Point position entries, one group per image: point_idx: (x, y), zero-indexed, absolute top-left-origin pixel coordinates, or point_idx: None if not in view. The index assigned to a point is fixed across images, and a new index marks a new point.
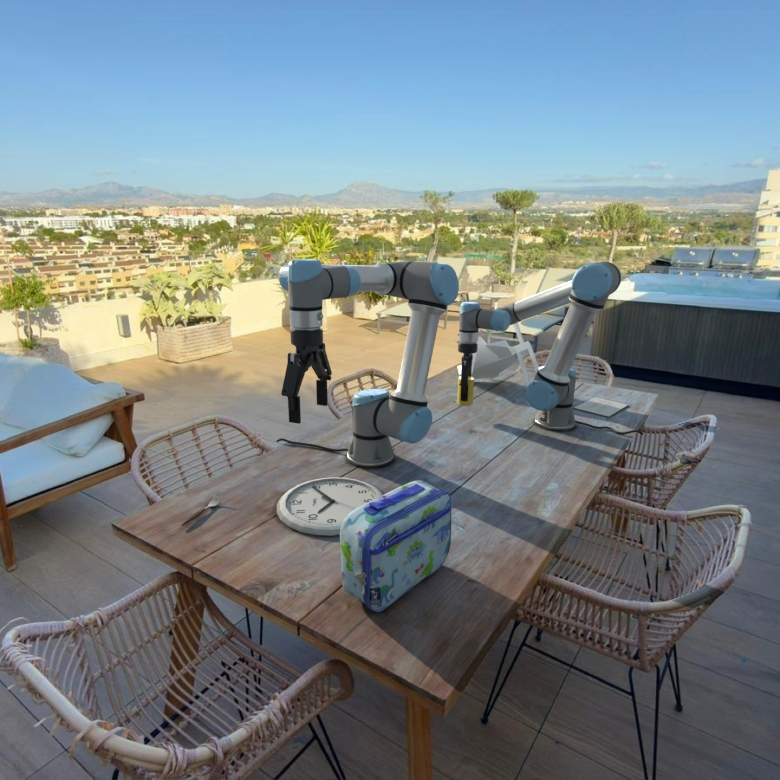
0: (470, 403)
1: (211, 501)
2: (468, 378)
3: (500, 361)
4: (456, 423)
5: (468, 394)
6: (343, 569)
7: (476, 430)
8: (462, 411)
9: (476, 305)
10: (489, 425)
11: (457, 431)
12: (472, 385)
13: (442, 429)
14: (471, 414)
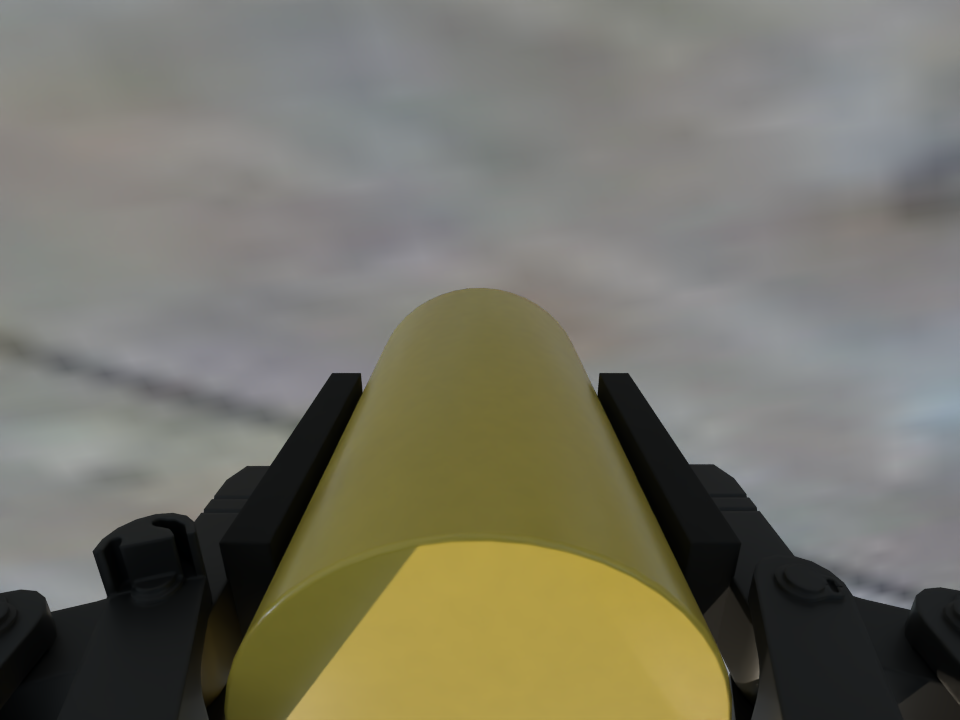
0: (548, 317)
1: None
2: (505, 685)
3: None
4: (729, 370)
5: (602, 410)
6: None
7: (907, 151)
8: (369, 366)
9: None
10: (734, 13)
11: (942, 331)
12: (569, 440)
13: (896, 457)
14: (427, 267)
